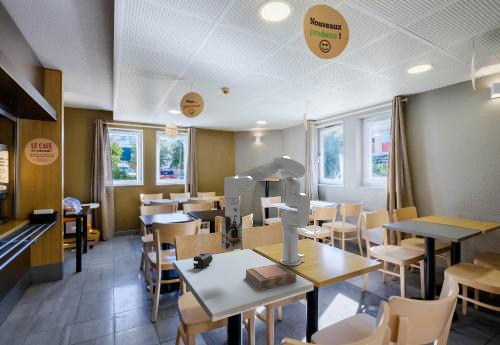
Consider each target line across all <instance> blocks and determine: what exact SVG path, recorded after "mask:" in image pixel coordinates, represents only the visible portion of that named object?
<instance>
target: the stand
mask: <svg viewBox="0 0 500 345" xmlns="http://www.w3.org/2000/svg"><path fill="white" fill-rule="evenodd" d="M245 278H246V279H247V280H249V281H250V283H252V284H253V285H254V286H255V287H256V288H258V289H259V290H260V291H261V290H262V291H263V290H265V289H270V288H274V287H279V286H284V285H289V284H293V283H297V274H296V273H295V272H294V271H292V270H290V269H288V268H287V267H286V266H283V264H281V263H276V264H271V265H270V264H269V265H264V266H258V267H253V268H247V269H245Z"/></svg>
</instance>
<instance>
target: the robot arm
mask: <svg viewBox="0 0 500 345" xmlns="http://www.w3.org/2000/svg"><path fill="white" fill-rule="evenodd" d="M279 172H280V175H281V176H282V177H283V179H284V181H285V183H286V191H285V198H284V199H285V201H284V202H285V206H286V207H287V208H289V209H286V210H284V211H283V212H282V213H281V215H280V222H281V223H280V224H281V226H282V227H281V229H282V258H280V259H279V261H280V264H281V265H285V266H288V267H289V266H294V267H295V266H299V265H301V263H302V260H301V259H305V257H306V256H305V254H300V253H299V230H298V229H305V228H306V227H308V225H309V219H310V211H311V199H310V197H309V195H308V194H306V193H303V192H302V193H301V183H300V180H299V179H301V178H303V177H304V176H305V174H306V168H305V165H304V164H303V163H302V162H299V161H297V160H295V159H293V158H292V157H289V156H276V157H272V158H271V159H268V160H266V161H265V162H263V163H262V164H260V165H258V166H255V167H252V168H250V169H247V170H244V171H243V172H239V173H238V174H237V175H235V176H226V177H224V179H223V180H224V181H223V184H224V185H223V189H224V192H223V194H224V195H223V196H224V198H223V199H224V204H223V205H225V208H224V209H225V210H224V216H226V217H229V218H230V223H231V224H232V230H231V233H232V238H238V225H239V224H240V216H241V213H240V212H241V209H240V205H239V204H240V191H250V190H253V188H254V187H255V182H260V181H264V180H267V179H268V178H270V177H272V176H273V175H275V174H277V173H279ZM290 209H294V210H290ZM295 209H296V210H295ZM233 222H235V223H233ZM233 225H234V226H233Z"/></svg>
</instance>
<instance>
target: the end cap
mask: <svg viewBox="0 0 500 345" xmlns="http://www.w3.org/2000/svg"><path fill="white" fill-rule="evenodd" d="M192 259H193V269H194V270H195V269H196V270H202V269H203V268H206V267H207V266H208V265H209V264H211V263H212V262H213V255H212V253H210V252H207V253H200V254H199V256H198V255H196V256H194V257H193V258H192ZM196 262H197V263H196Z"/></svg>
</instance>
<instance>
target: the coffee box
mask: <svg viewBox="0 0 500 345" xmlns="http://www.w3.org/2000/svg"><path fill="white" fill-rule="evenodd" d="M233 223H235V222H233ZM233 226H234V225H233ZM231 230H232V224H231V223H230V218H229V217H226V216H225V215H224V216H221V248H222V250H224V251H226V252H227V251H235V250H240V249H243V216H242V215H240V224H239V225H238V238H232V233H231Z"/></svg>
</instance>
